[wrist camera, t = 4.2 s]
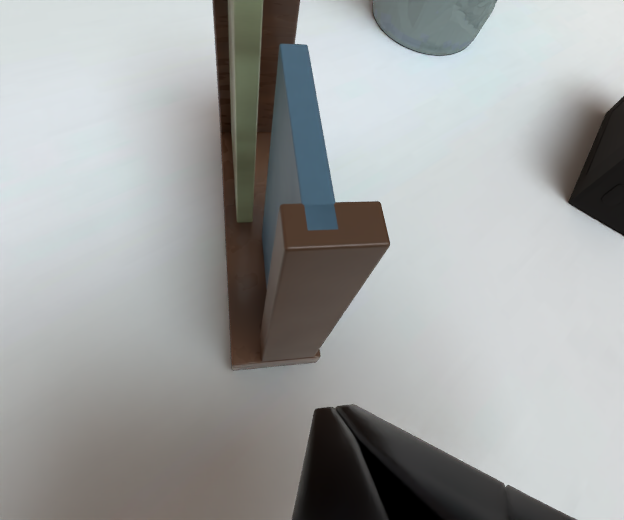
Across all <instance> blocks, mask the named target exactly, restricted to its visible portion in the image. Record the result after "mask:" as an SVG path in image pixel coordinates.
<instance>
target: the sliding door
mask: <svg viewBox="0 0 624 520" xmlns="http://www.w3.org/2000/svg"><path fill="white" fill-rule="evenodd" d="M262 244H263V255H264V266H265V277H266V289H267V292H266V299H265V305H264V312H263V319H262V325H261V332H260V347H261V360H262V361H263V362H265V361H275V360H285V359H296V358H306V357H314V356H315V354H316V353H317V351H318V350H319V348H320V347H321V346H322V344H323V343H324V341H325V340H326V338H327V337H328V335H329V334H330V332H331V331H332V329H333V328H334V327H335V325H336V324H337V322H338V321H339V319H340V318H341V316H342V315H343V313H344V312H345V310H346V309H347V308H348V306H349V305H350V303H351V302H352V300H353V299H354V297H355V296H356V294H357V293H358V291H359V290H360V289H361V287H362V286H363V284H364V283H365V281H366V280H367V278H368V277H369V275H370V274H371V272H372V271H373V270H374V268H375V267H376V265H377V264H378V262H379V261H380V259H381V258H382V256H383V255H384V253H385V252H386V251H387V249H388V248H389V246H390V241H389V237H388V233H387V228H386V224H385V219H384V215H383V211H382V206H381V203H380V202H378V201H375V202H336V203H335V198H334V192H333V186H332V181H331V175H330V170H329V164H328V158H327V153H326V147H325V141H324V136H323V130H322V125H321V119H320V113H319V108H318V102H317V96H316V91H315V85H314V79H313V74H312V68H311V63H310V57H309V51H308V46H307V45H302V44H280V45H279V55H278V65H277V76H276V87H275V98H274V109H273V119H272V130H271V141H270V152H269V163H268V174H267V184H266V195H265V206H264V217H263V228H262Z"/></svg>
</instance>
